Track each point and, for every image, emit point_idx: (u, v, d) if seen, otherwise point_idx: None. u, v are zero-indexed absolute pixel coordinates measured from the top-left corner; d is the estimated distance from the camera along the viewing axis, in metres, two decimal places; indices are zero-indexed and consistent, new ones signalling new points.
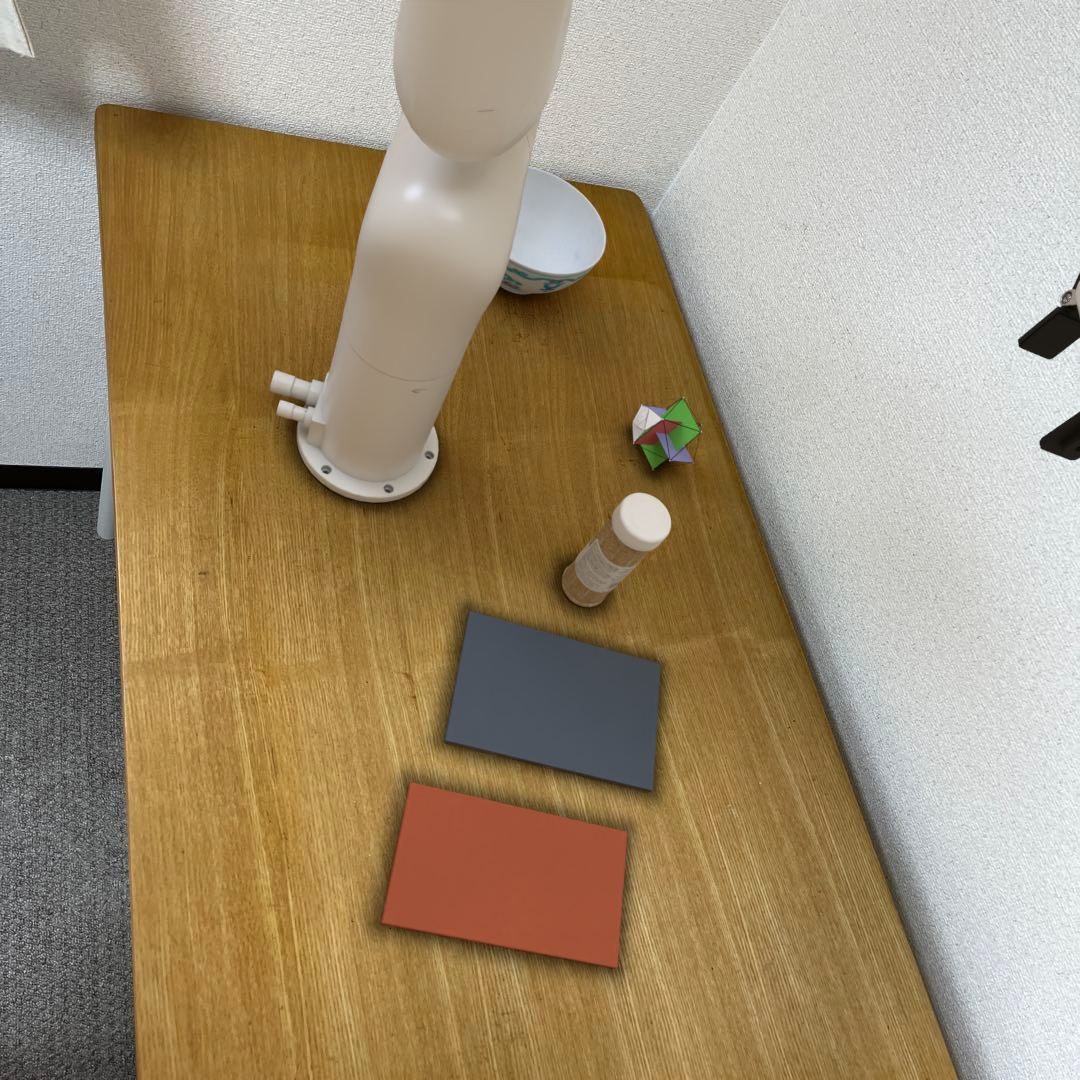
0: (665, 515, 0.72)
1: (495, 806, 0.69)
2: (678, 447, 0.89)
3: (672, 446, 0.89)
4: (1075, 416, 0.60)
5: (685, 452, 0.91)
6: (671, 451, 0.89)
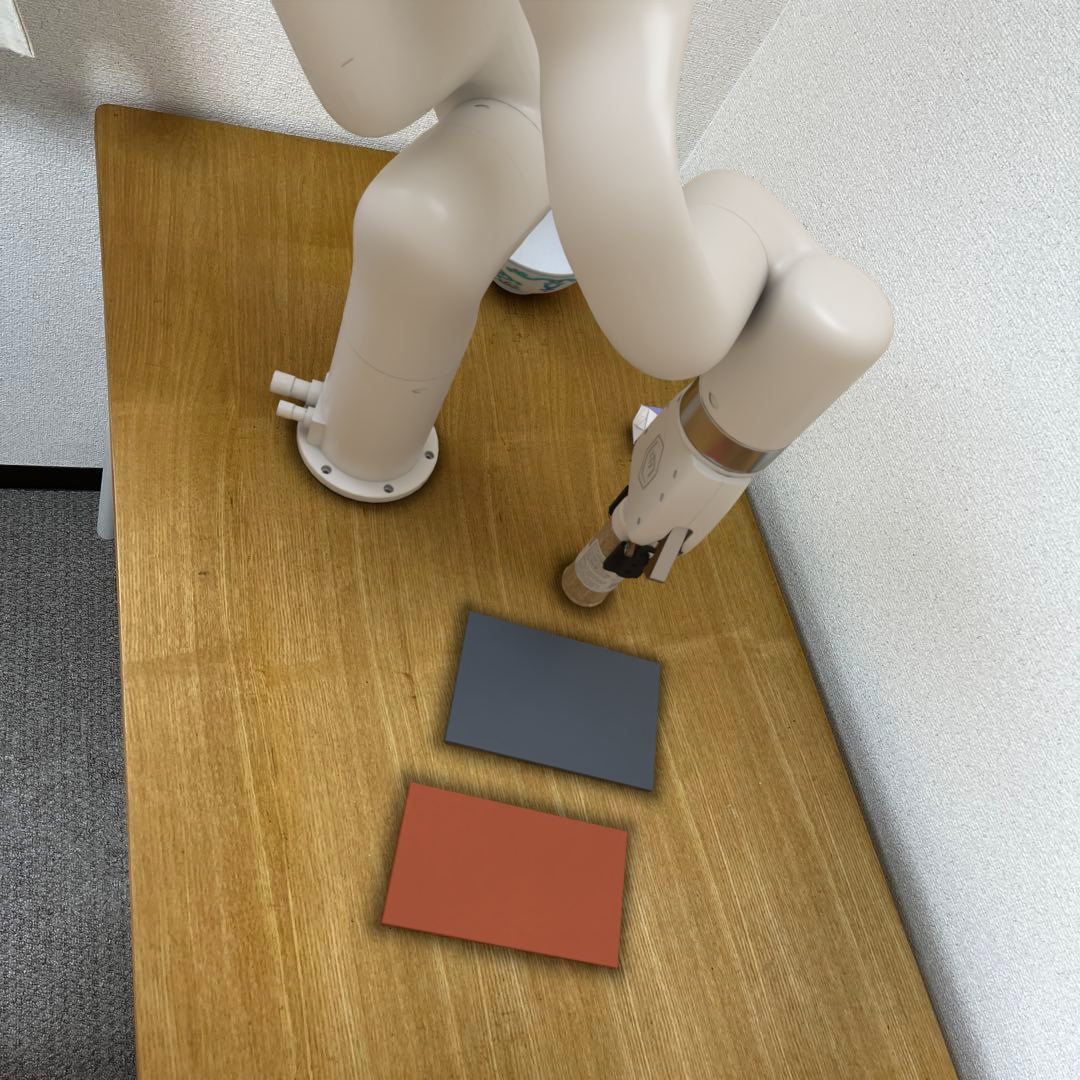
0: None
1: (495, 806, 0.69)
2: None
3: None
4: (618, 546, 0.71)
5: None
6: None
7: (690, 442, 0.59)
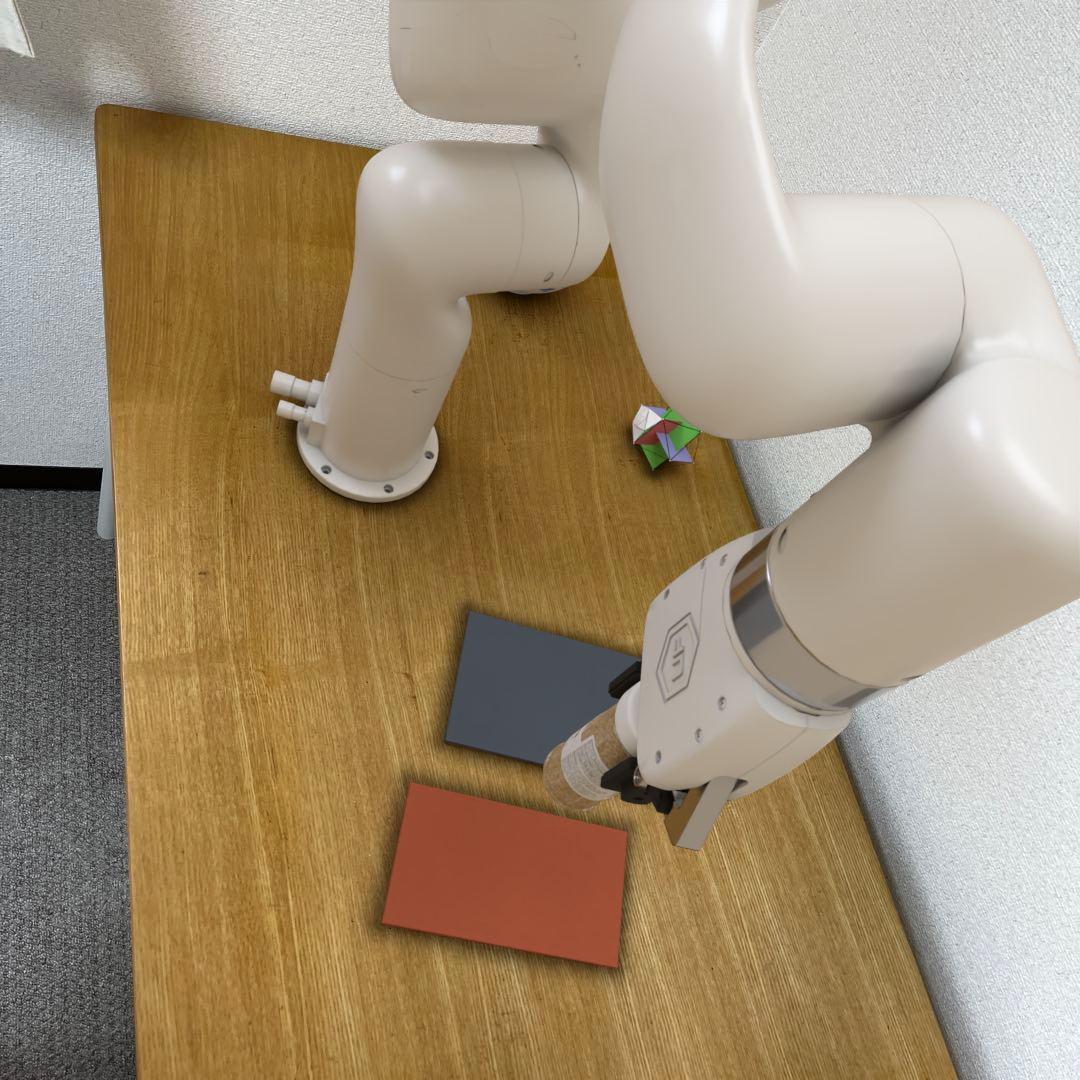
0: None
1: (495, 806, 0.69)
2: (678, 447, 0.89)
3: (672, 446, 0.89)
4: (624, 763, 0.46)
5: (685, 452, 0.91)
6: (671, 451, 0.89)
7: (750, 660, 0.34)
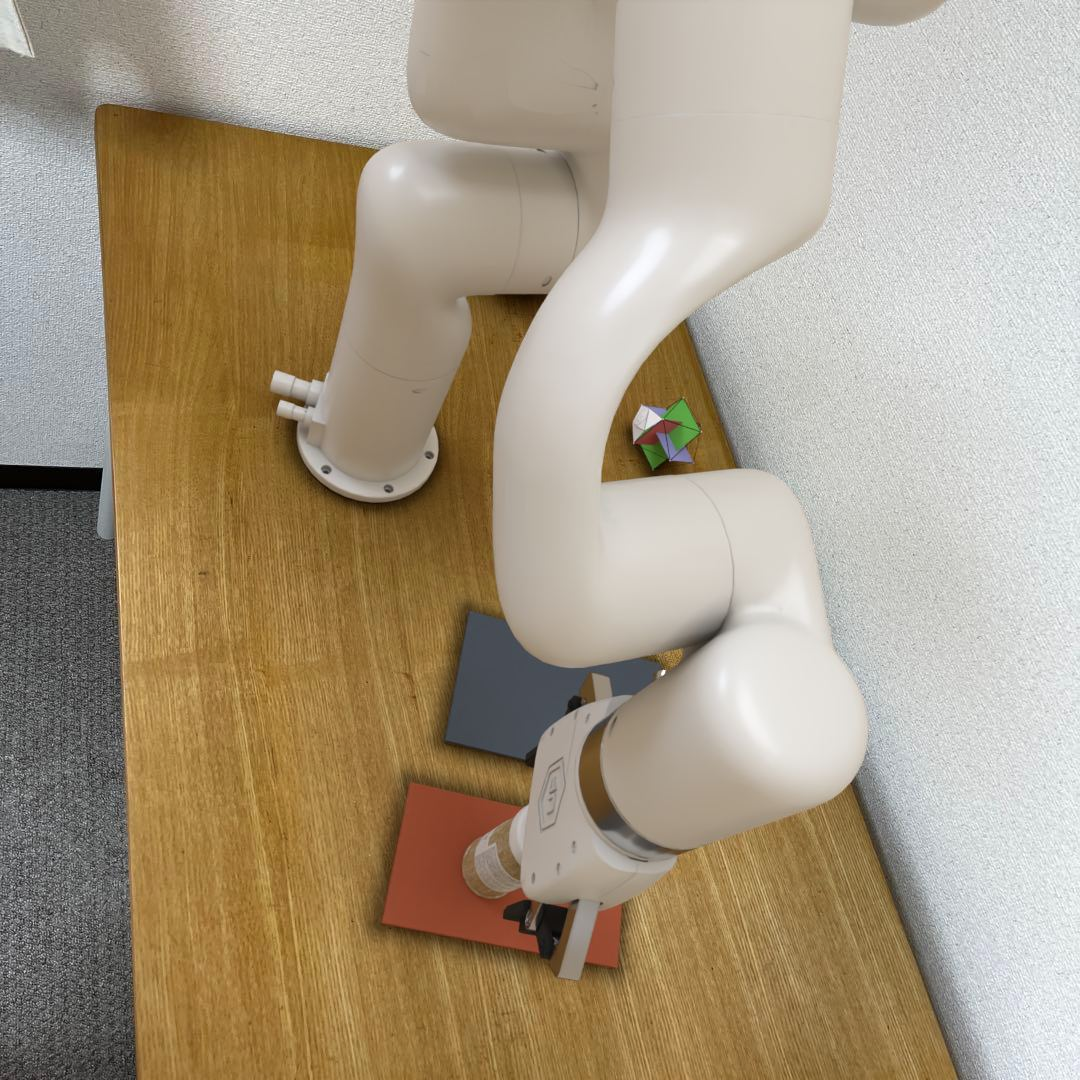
0: None
1: (495, 806, 0.69)
2: (678, 447, 0.89)
3: (672, 446, 0.89)
4: (519, 905, 0.53)
5: (685, 452, 0.91)
6: (671, 451, 0.89)
7: (591, 818, 0.43)
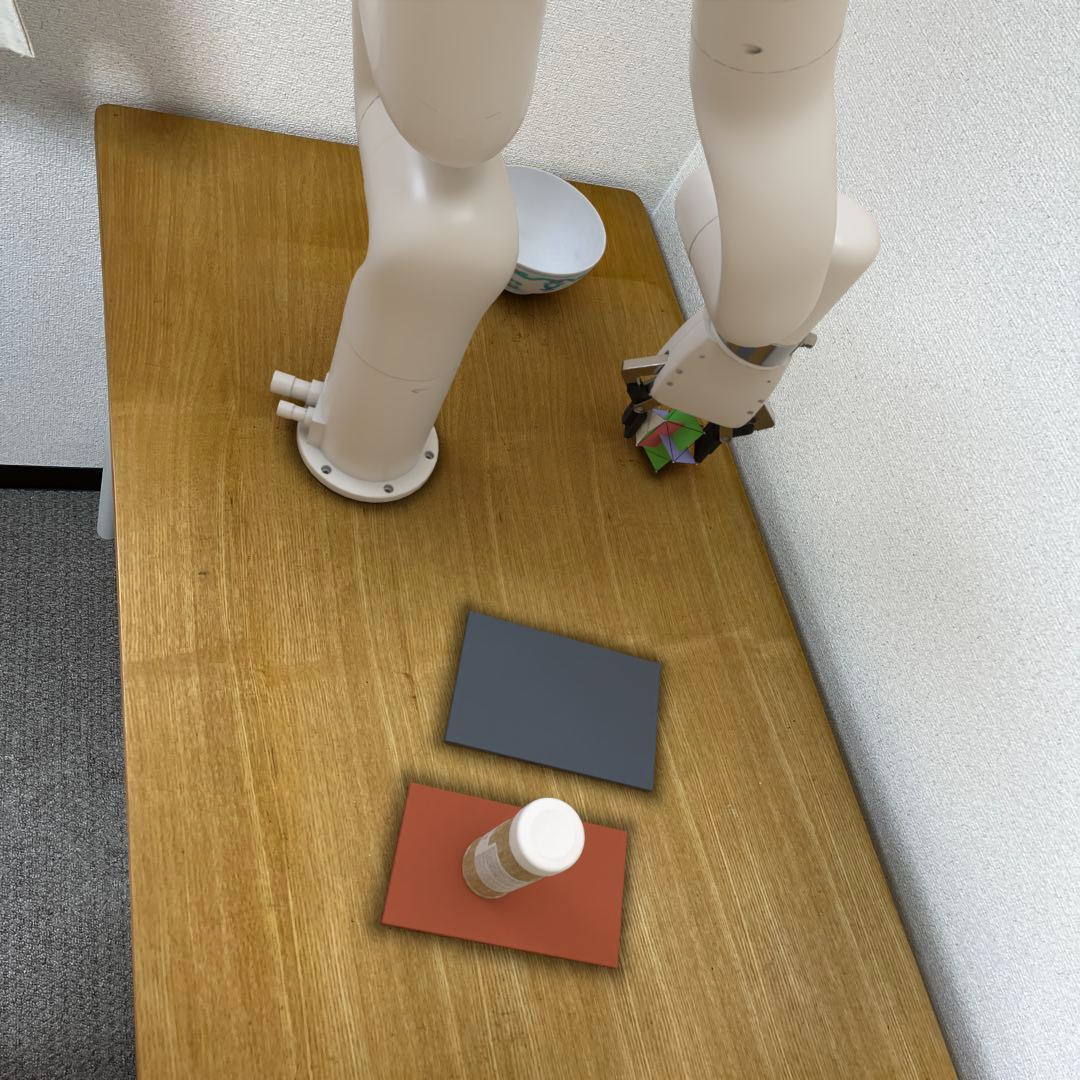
0: (577, 829, 0.56)
1: (495, 806, 0.69)
2: (681, 449, 0.89)
3: (675, 448, 0.89)
4: None
5: (688, 454, 0.91)
6: (674, 453, 0.89)
7: None
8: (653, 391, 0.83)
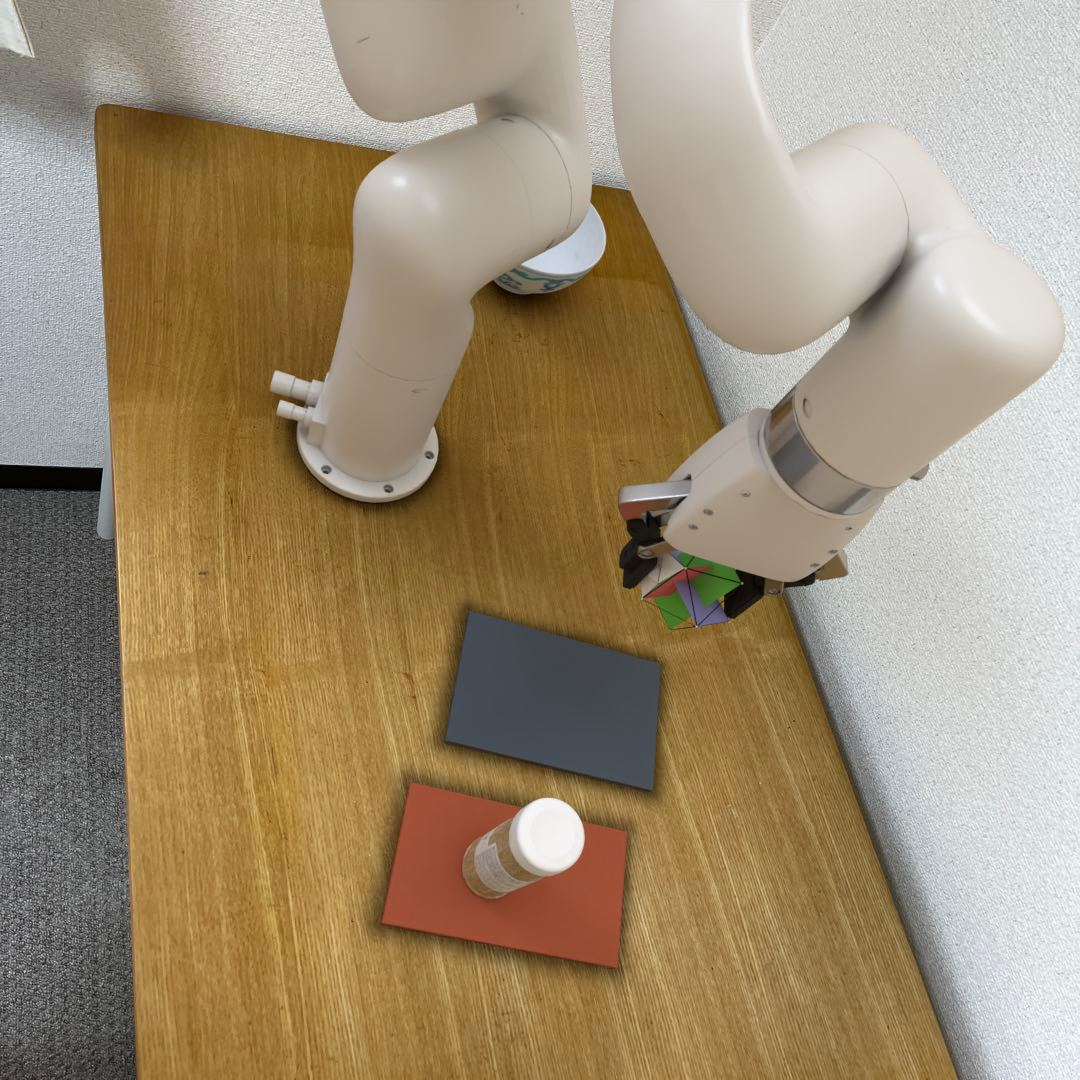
0: (577, 829, 0.56)
1: (495, 806, 0.69)
2: (707, 602, 0.61)
3: (698, 600, 0.61)
4: None
5: (717, 607, 0.62)
6: (698, 610, 0.60)
7: None
8: (667, 534, 0.54)
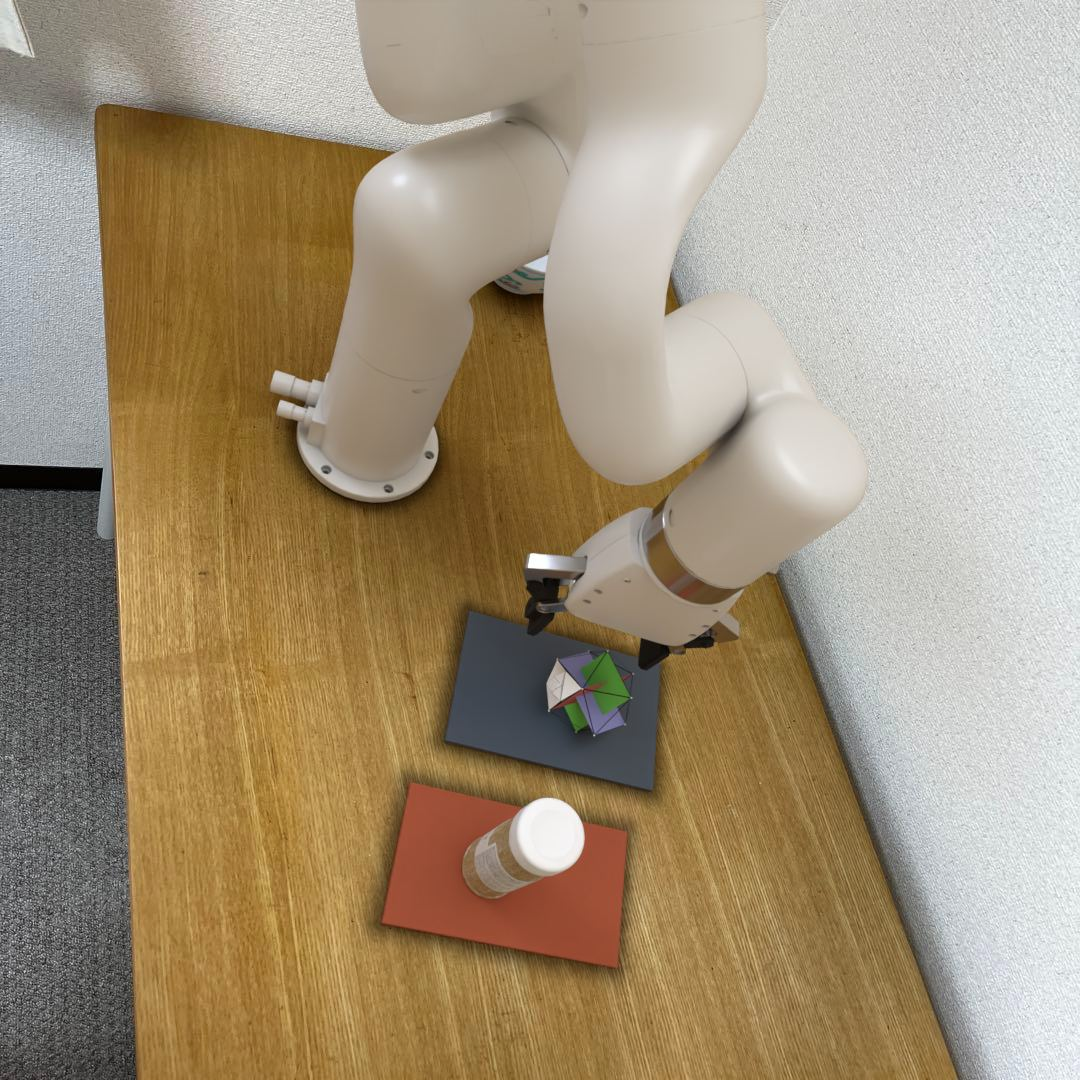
0: (577, 829, 0.56)
1: (495, 806, 0.69)
2: (605, 711, 0.72)
3: (597, 709, 0.72)
4: None
5: (614, 712, 0.73)
6: (596, 718, 0.72)
7: None
8: (567, 604, 0.63)
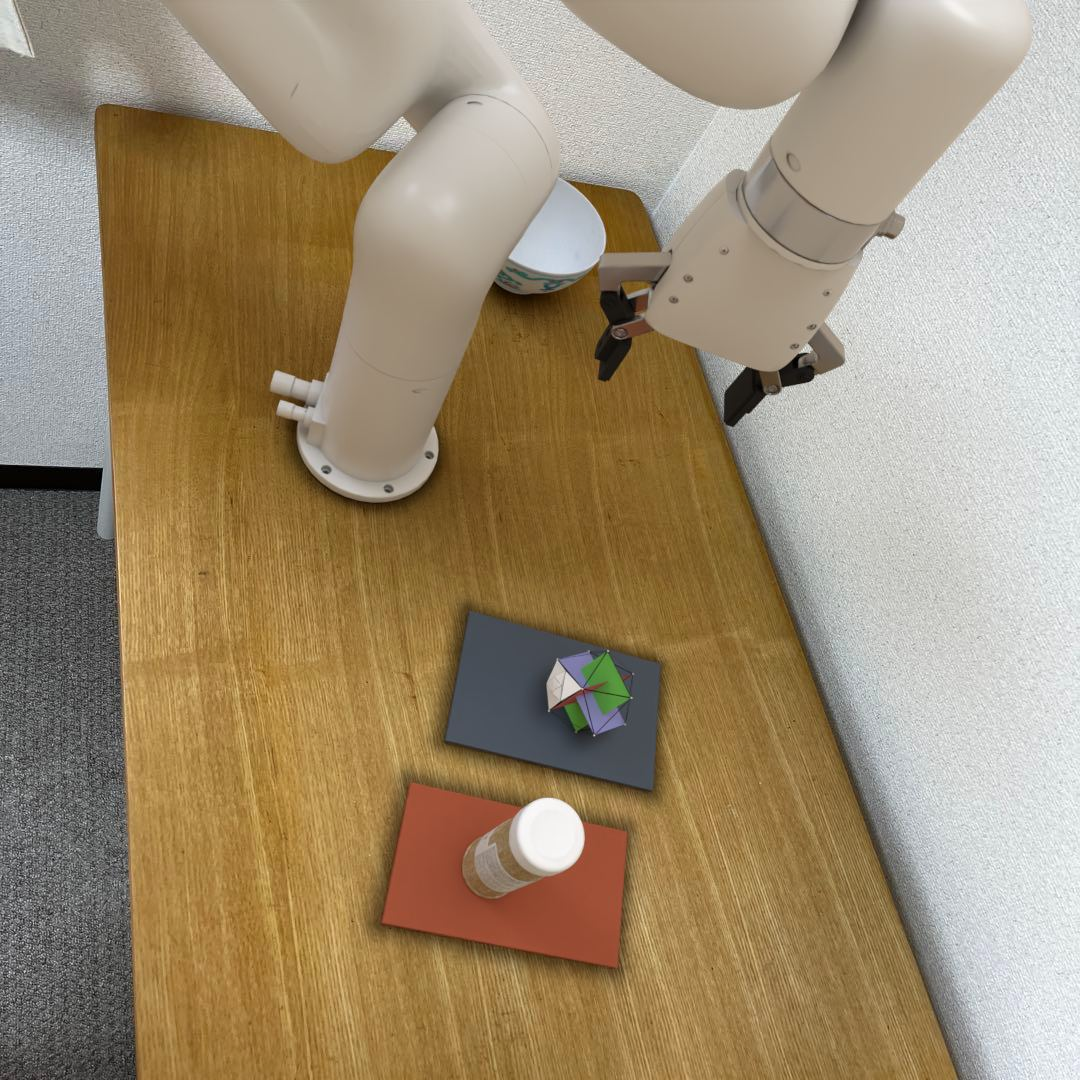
0: (577, 829, 0.56)
1: (495, 806, 0.69)
2: (605, 711, 0.72)
3: (597, 709, 0.72)
4: None
5: (614, 712, 0.73)
6: (596, 718, 0.72)
7: None
8: (649, 314, 0.55)
